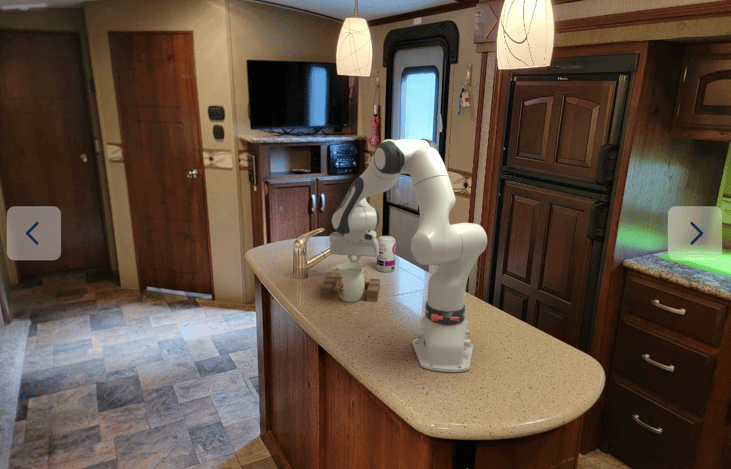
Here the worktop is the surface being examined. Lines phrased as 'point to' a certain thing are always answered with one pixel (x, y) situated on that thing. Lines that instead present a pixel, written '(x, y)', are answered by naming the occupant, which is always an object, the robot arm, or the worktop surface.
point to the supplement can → (386, 254)
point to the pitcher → (350, 281)
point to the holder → (371, 288)
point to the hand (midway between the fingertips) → (354, 265)
